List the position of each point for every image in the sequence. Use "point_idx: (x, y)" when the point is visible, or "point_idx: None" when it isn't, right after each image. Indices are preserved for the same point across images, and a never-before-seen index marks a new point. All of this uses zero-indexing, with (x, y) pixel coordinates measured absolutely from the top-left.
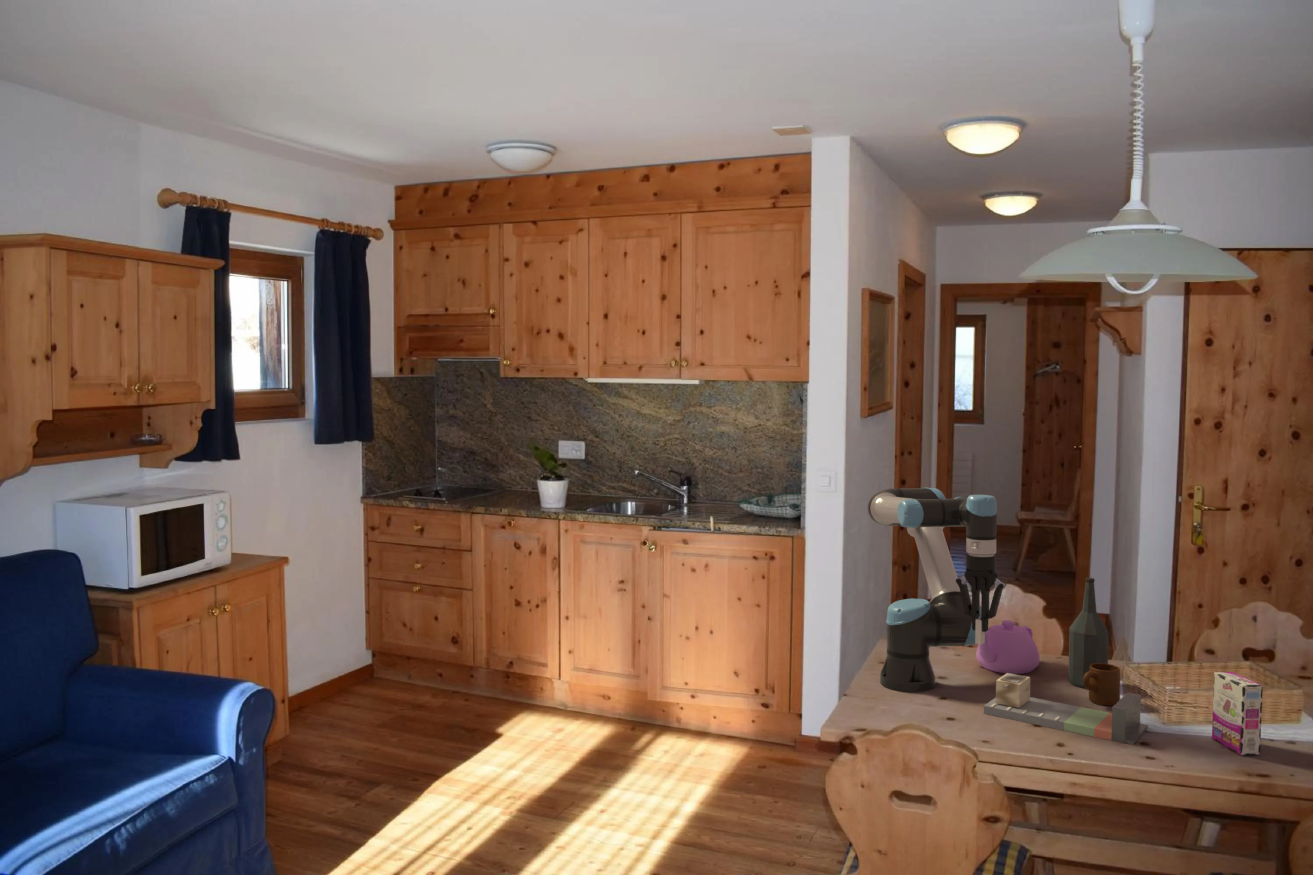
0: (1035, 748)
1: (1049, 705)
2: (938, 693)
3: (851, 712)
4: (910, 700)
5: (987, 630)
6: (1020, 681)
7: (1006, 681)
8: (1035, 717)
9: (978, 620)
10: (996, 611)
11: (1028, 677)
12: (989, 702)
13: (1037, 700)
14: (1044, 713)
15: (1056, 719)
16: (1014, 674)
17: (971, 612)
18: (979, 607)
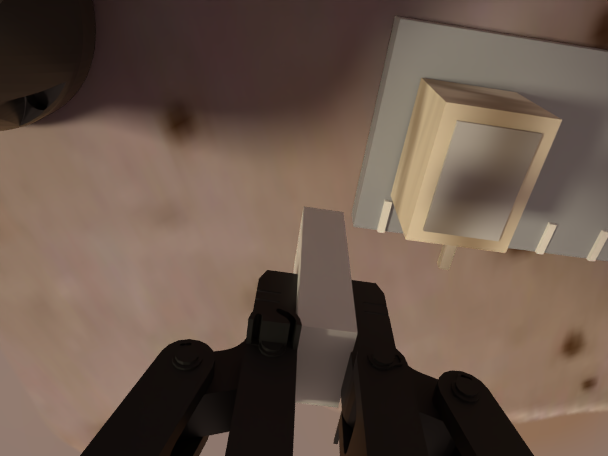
0: (508, 386)
1: (590, 113)
2: (142, 73)
3: (26, 358)
4: (99, 200)
5: (376, 291)
6: (510, 209)
7: (449, 235)
8: (525, 248)
9: (312, 399)
10: (513, 443)
11: (552, 130)
12: (365, 184)
13: (546, 70)
14: (559, 210)
15: (594, 260)
16: (484, 126)
17: (225, 426)
18: (293, 423)
